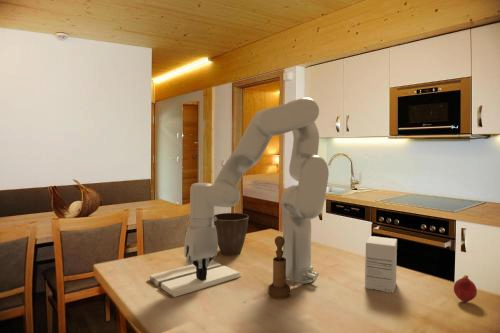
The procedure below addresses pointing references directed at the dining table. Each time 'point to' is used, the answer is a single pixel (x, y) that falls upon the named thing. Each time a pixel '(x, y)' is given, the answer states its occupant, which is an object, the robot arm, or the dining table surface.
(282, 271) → the mortar and pestle
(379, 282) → the supplement box
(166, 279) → the white grooved board
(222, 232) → the plant pot
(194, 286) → the pale plank
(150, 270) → the dining table surface
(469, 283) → the onion
